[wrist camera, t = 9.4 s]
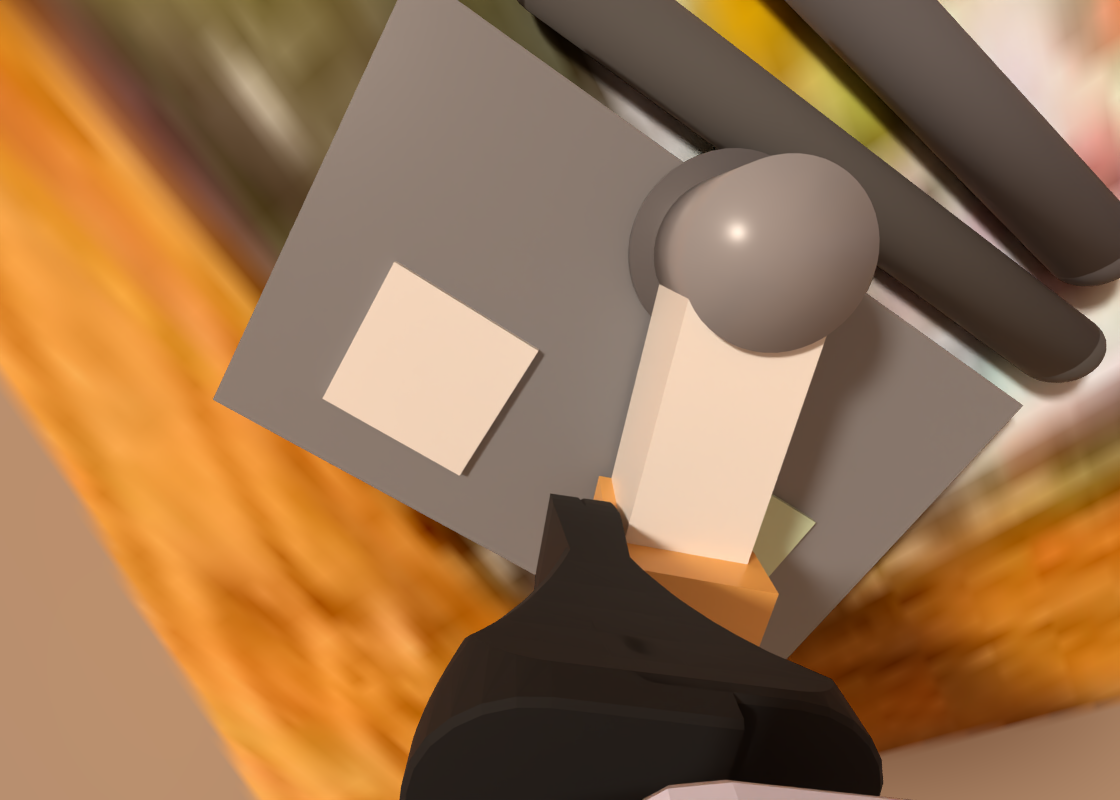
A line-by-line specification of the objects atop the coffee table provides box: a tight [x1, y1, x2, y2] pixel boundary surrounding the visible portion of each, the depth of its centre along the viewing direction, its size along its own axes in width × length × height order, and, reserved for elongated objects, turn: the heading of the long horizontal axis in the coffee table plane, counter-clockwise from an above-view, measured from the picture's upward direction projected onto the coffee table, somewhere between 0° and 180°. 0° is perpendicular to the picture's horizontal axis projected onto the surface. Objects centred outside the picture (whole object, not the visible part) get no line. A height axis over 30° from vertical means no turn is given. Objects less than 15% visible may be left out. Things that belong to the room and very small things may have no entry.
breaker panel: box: [213, 0, 1023, 659], centre depth 13 cm, size 16×11×2 cm
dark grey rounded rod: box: [785, 0, 1120, 286], centre depth 11 cm, size 12×2×2 cm, turn 52°
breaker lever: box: [593, 153, 880, 646], centre depth 11 cm, size 3×10×4 cm, turn 169°
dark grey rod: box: [517, 0, 1106, 383], centre depth 11 cm, size 16×2×2 cm, turn 58°
